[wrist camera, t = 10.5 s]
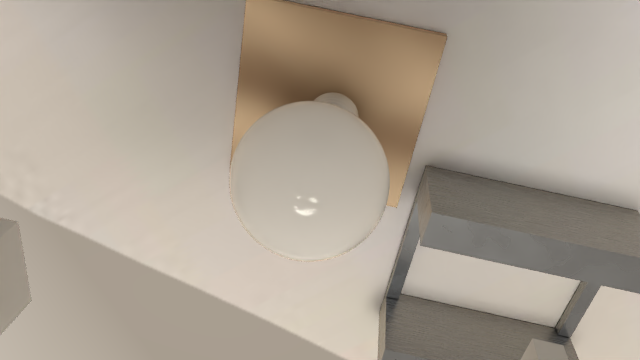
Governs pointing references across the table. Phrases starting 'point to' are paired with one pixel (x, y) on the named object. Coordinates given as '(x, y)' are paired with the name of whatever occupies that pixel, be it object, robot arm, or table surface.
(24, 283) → the robot arm
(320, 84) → the cork pad
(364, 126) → the lightbulb
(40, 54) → the table surface
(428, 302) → the housing
